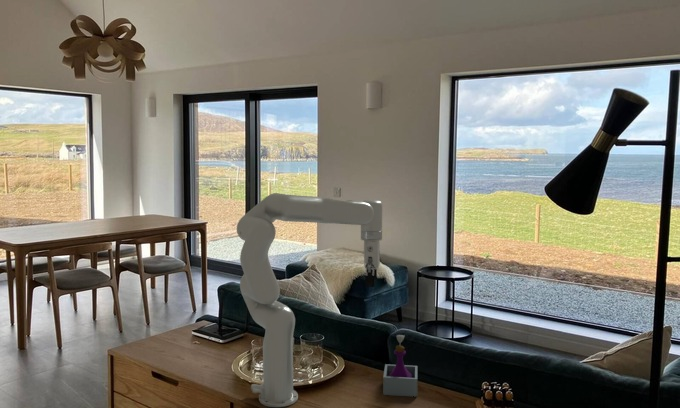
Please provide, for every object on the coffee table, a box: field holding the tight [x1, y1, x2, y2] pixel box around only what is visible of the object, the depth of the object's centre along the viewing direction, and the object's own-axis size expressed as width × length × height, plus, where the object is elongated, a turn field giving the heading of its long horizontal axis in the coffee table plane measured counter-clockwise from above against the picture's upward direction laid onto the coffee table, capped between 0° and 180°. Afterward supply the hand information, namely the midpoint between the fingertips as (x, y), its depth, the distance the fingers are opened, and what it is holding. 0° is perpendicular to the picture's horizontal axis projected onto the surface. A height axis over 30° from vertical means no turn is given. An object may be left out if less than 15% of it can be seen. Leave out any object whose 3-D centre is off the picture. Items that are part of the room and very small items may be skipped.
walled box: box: [382, 363, 418, 398], centre depth 190 cm, size 11×11×6 cm
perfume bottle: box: [389, 334, 412, 378], centre depth 188 cm, size 8×8×18 cm
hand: (371, 283), depth 199 cm, fingers open, 9 cm apart
